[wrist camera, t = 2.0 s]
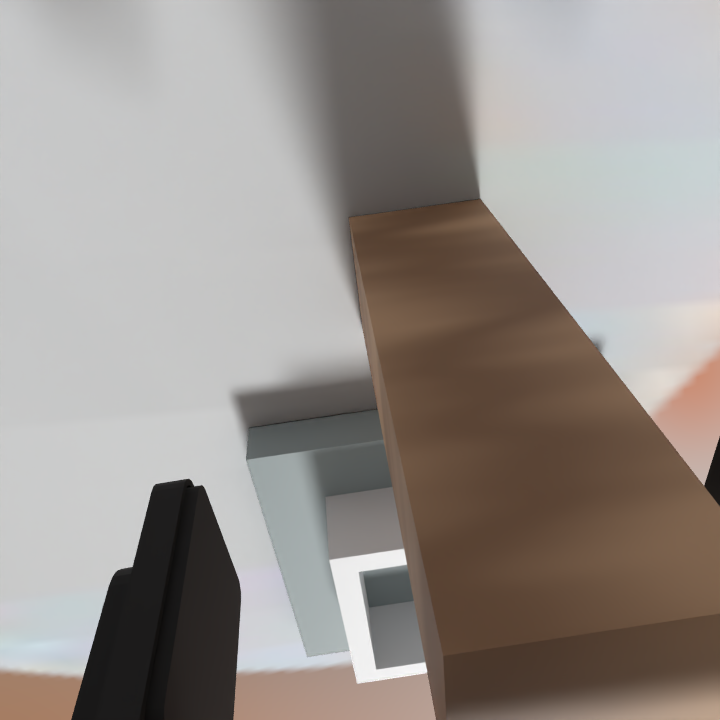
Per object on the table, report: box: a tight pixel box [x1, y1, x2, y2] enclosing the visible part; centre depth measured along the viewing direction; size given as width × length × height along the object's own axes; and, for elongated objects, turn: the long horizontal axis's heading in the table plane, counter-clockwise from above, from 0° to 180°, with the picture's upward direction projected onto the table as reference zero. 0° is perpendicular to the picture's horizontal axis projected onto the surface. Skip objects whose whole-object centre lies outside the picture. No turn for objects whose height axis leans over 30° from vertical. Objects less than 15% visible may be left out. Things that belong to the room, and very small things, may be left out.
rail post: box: [349, 199, 720, 720], centre depth 12 cm, size 4×4×12 cm
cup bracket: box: [246, 409, 427, 683], centre depth 21 cm, size 12×12×4 cm
